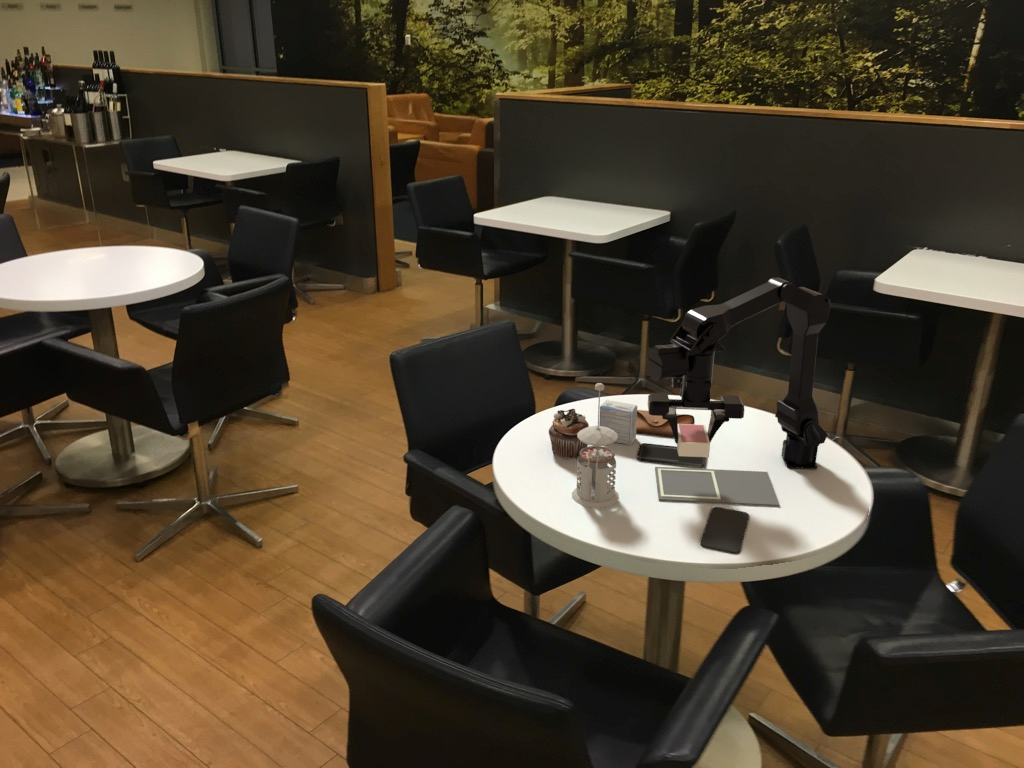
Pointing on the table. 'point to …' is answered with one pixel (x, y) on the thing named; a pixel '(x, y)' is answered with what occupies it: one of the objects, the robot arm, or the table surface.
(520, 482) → the table surface
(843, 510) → the table surface
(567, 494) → the table surface
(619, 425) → the medicine box
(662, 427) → the sunglasses case
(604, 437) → the french press
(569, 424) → the cupcake
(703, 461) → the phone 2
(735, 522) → the phone
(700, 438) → the card deck
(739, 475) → the mat
